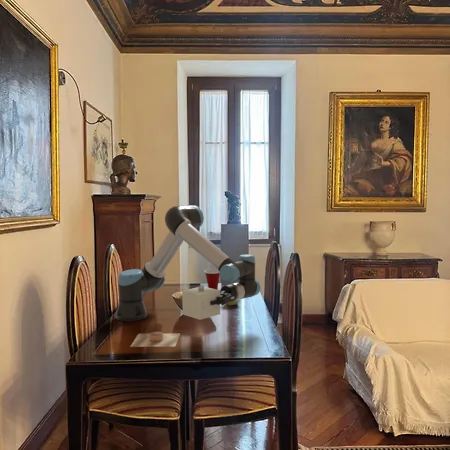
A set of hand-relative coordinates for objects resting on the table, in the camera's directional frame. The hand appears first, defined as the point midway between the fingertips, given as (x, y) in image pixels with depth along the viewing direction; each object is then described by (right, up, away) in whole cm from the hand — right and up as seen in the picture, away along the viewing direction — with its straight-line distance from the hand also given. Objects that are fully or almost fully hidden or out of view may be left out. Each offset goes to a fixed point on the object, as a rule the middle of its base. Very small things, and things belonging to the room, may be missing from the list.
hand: (193, 301), depth 179 cm
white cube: (+3, -6, +3) cm, 7 cm away
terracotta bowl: (-16, -16, +3) cm, 23 cm away
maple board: (-16, -18, +4) cm, 24 cm away
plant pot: (+16, -13, +66) cm, 69 cm away
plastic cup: (+5, -10, +105) cm, 105 cm away
